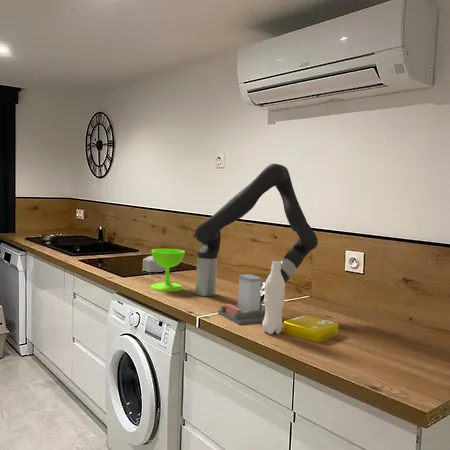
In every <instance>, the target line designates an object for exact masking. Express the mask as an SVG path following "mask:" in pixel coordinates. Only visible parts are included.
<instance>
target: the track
mask: <svg viewBox="0 0 450 450" xmlns="http://www.w3.org/2000/svg"><path fill="white" fill-rule="evenodd" d="M217 314H218V315H220V316H221V317H223V318H225V319H227V320H230V321H231V322H233V323H234V324H237V325H239V326H240V325H248V324H257V323H258V322H259V323H263V320H264V317H265V309H264V308H262V303H261V304H260V311H250V312H242V310H241V309H239V308H238V304H231V303H226V304H224V305H222V306H221V307H220V309H218V310H217Z"/></svg>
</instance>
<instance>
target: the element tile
mask: <svg viewBox="0 0 450 450" xmlns="http://www.w3.org/2000/svg"><path fill="white" fill-rule="evenodd" d="M282 331H283V334H286V335H289V336H293V337H296V338H300V339H303V340H307V341H311V342H315V343H321V342H324V341H326V340H329V339H332V338H335V337H336V336H338V335H339V323H338V322H336V321H332V320H327V319H323V318H320V317H316V316H310V315H308V314H304V315H300V316H297V317H293V318H290V319H287V320H284V321H283V328H282Z"/></svg>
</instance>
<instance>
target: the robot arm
mask: <svg viewBox="0 0 450 450" xmlns="http://www.w3.org/2000/svg"><path fill="white" fill-rule="evenodd" d="M292 182H293V181H292V179H291V175H290V172H289V169H288V168H287V167H286V166H284V165H283V164H279V163H270V164H269V165H267V166H265V168H264V169H263V170H262V171H261V172H260V173H258V175H257V176H256V178H254V179H253V180H252V181H251V182H250V183H248V185H246V186H245V187H244V188H242V189H241V190H240V191H239V192H238V193H236V194H235V195H234V196H233V197H231V199H229V200H228V201H227V203H225V204H224V205H223V206H222V207H221V208H220V209H219V210H217V211H216V212H215V213H214V214H213V215H211V216H210V217H209V218H208V219H206V220H205V221H203V222H201V223H200V224H199V225H197V228H196V229H195V231H194V232H195V234H194V237H195V239H196V241H197V242H199V243H201V247H200V249H198V251H197V256H196V257H197V258H196V259H197V260H196V274H195V275H196V276H195V292H194V293H195V295H197V296H200V297H214V296H216V290H217V271H218V269H217V268H218V255H219V252H220V248H221V247H220V246H221V238H222V237H221V234H222V233H221V230H222V229H224V228H225V227H226V226H228V225H230V224H232V223H235V222H236V221H238V220H240V219H241V218H242V217H244V216H245V215H247V214H248V212H250V211H251V210H252V209H253V208H254V207H255V205H256V204H257V202H258V201H259V200H260V198H261V197H262V196H263V195H264V194H265V193H267V192H268V191H269V190H270V189H272V188H273V187H276V190H277V191H278V193H279V195H280V198H281V199H282V203H283V211H284V215H285V216H286V219H287V222H288V223H289V226H290V228H291V230H292V231H293V232H295V233H296V234H297V236H298V237H299V238H298V239H297V240H296V241H295V243H294V244H293V246H292V247H291V248H290V250H289V251H288V252H286V254H285V255H284V256H283V257H282V259H281V260H279V261H280V262H281V275H282V277H283V279H284V281H285V284H287V282H288V281H289V280H290V278H291V277H292V276H293V275H294V274H295V272H296V270H297V269H298V268H299V266H301V264H302V263H303V261H304V259H305V258H306V257H307V256H308V254H309V253H311V251H313V250H315V249H316V248H317V246H318V244H319V240H318V237H317V235H316V233H315V230H313V228H312V227H311V226H310V224H309V223H308V220H307V219H306V216H305V214H304V212H303V209H302V208H301V205H300V203H299V201H298V199H297V195H296V192H295V189H294V186H293V183H292ZM270 273H271V271H270V272H269V273H268V276H269V275H270ZM266 280H267V279H265V280H264V281H261V296H260V304H261V305H262V303H263V302H264V296H265V282H266Z"/></svg>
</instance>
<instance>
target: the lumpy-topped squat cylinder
mask: <svg viewBox="0 0 450 450" xmlns="http://www.w3.org/2000/svg"><path fill="white" fill-rule="evenodd" d="M165 270H166V267H162V266H160V265H159V264H157V263H156V262H155V260H154V259H153V256H152V255H149V256H146V257H145V258H143V259H142V272H143V271H147V272H163V271H165ZM163 273H164V272H163Z"/></svg>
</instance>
